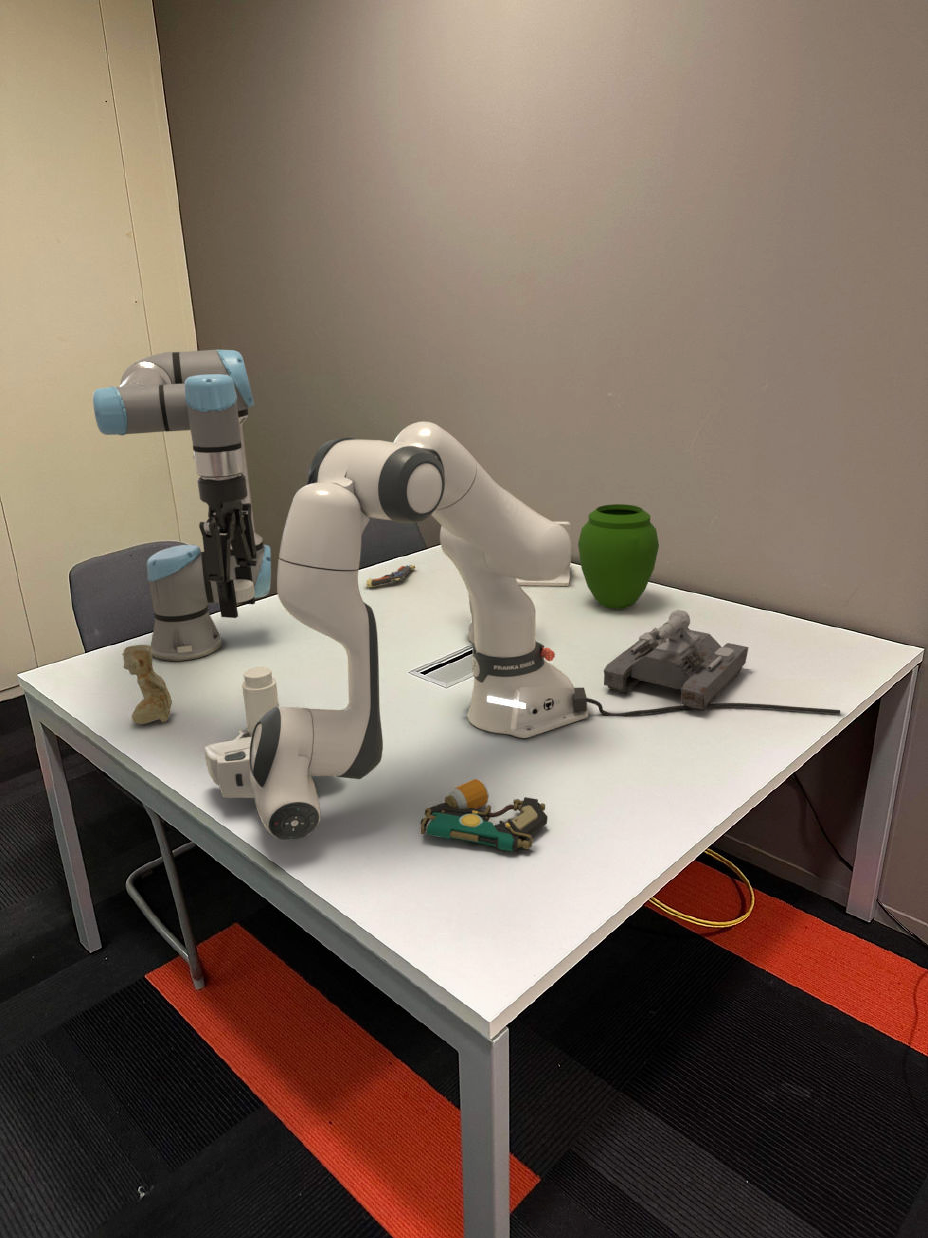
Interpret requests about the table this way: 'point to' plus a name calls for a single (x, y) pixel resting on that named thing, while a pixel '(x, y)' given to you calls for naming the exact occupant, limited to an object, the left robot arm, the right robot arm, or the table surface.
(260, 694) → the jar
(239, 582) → the lid
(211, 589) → the left robot arm
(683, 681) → the toy
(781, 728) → the table surface
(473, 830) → the spray gun
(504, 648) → the right robot arm
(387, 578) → the toy gun
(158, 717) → the sculpture
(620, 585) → the vase
